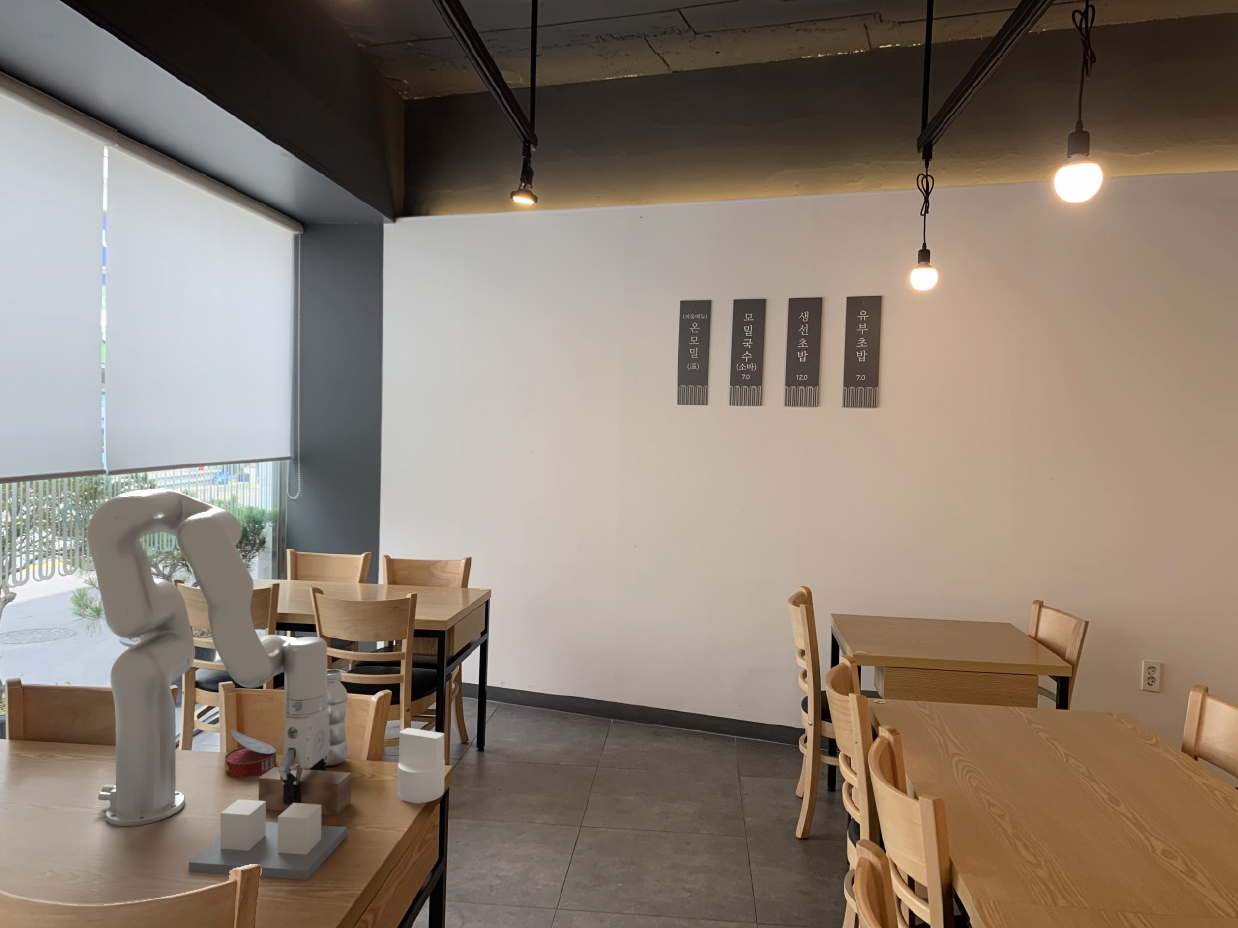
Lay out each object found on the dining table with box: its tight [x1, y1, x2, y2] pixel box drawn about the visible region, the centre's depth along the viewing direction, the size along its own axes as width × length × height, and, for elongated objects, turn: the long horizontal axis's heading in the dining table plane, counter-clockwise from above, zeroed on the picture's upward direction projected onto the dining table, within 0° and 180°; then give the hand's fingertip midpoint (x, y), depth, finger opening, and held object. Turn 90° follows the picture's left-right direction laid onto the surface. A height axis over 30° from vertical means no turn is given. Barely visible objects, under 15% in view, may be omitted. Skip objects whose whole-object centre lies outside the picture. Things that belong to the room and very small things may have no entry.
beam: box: [258, 766, 352, 816], centre depth 147 cm, size 16×5×6 cm, turn 82°
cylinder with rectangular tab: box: [397, 727, 446, 804], centre depth 153 cm, size 9×9×12 cm
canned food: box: [224, 728, 277, 778], centre depth 164 cm, size 11×10×10 cm
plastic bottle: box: [324, 668, 349, 767], centre depth 166 cm, size 6×7×20 cm
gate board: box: [188, 799, 348, 881], centre depth 129 cm, size 20×14×8 cm
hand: (305, 792), depth 147 cm, fingers open, 9 cm apart
